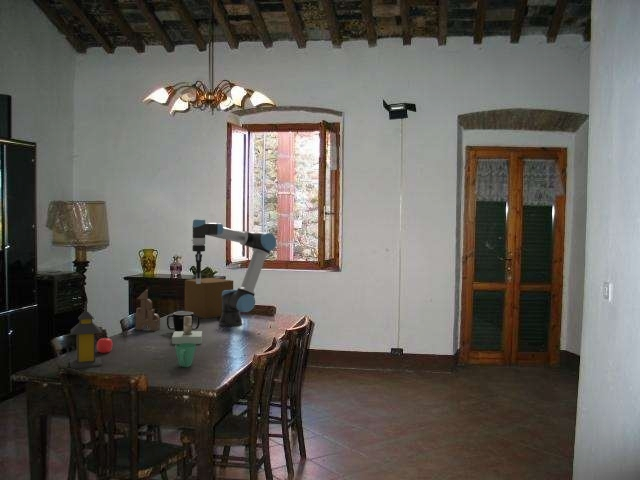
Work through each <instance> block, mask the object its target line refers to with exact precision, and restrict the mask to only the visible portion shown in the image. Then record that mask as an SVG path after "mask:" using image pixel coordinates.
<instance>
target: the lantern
mask: <svg viewBox="0 0 640 480" xmlns="http://www.w3.org/2000/svg"><path fill="white" fill-rule="evenodd" d="M94 319H95V318H94V316H93V315H92V314H91V312H89V311H88V301H84V311H83V312H82V313H81V314H80V315H79V316H78V317H77V320H79V322H78V323H77V324H75V326H73V327H72V328H71V329H70V335H76V358H75V359H70V360H69V368H70V367H71V368H70V369H81V368H83V369H84V368H94V367H95V368H96V367H102V366H103V362H102V358H101V357H96V334H101V333H103V331H102V330H101V327H100V326H98V325H97V324H95V323H94V322H93V320H94Z"/></svg>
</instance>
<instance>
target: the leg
mask: <svg viewBox="0 0 640 480" xmlns="http://www.w3.org/2000/svg"><path fill="white" fill-rule="evenodd" d="M192 328H193V325H192V316H184V335H191V331H193V330H192Z"/></svg>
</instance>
